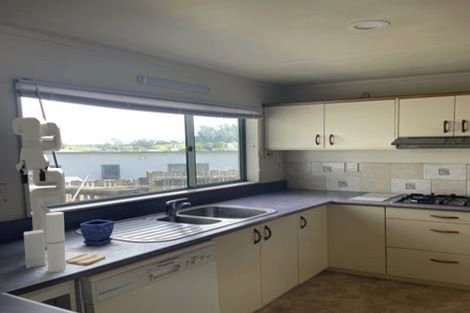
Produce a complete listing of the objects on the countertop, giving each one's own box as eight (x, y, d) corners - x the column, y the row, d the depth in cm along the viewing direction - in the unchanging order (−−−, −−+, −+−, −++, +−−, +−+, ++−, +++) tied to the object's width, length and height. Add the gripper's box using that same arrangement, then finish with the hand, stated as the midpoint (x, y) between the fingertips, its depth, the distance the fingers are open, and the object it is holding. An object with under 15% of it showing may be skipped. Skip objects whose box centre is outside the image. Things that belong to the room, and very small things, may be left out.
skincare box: (45, 261, 193) (43, 229, 192) (45, 265, 187) (44, 231, 186) (25, 264, 189) (23, 231, 188) (25, 268, 183) (23, 234, 182)
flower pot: (96, 239, 234) (95, 219, 233) (115, 241, 229) (114, 220, 229) (79, 245, 221) (79, 223, 221) (100, 247, 217) (99, 225, 216)
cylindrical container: (50, 273, 176) (47, 215, 175) (46, 269, 182) (44, 213, 181) (67, 269, 180) (65, 213, 179) (63, 265, 186) (61, 211, 185)
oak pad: (67, 262, 191) (67, 260, 191) (85, 255, 202) (85, 253, 202) (87, 265, 186) (87, 263, 186) (105, 258, 197) (105, 256, 197)
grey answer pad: (46, 260, 196) (46, 258, 196) (65, 253, 207) (65, 251, 207) (65, 262, 191) (65, 260, 191) (84, 255, 202) (84, 253, 202)
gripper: (41, 144, 195) (43, 180, 195) (9, 145, 179) (11, 184, 179) (53, 144, 192) (55, 180, 193) (21, 145, 176) (23, 184, 177)
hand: (33, 182), depth 186 cm, fingers open, 9 cm apart
